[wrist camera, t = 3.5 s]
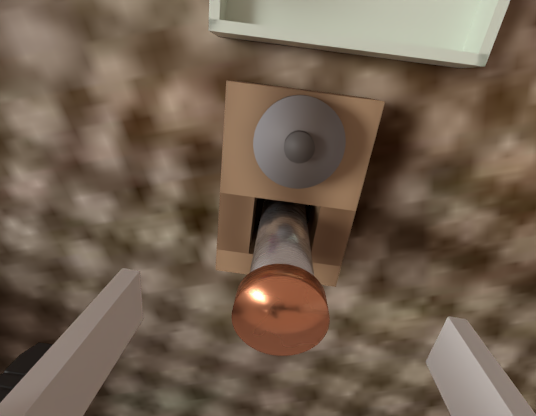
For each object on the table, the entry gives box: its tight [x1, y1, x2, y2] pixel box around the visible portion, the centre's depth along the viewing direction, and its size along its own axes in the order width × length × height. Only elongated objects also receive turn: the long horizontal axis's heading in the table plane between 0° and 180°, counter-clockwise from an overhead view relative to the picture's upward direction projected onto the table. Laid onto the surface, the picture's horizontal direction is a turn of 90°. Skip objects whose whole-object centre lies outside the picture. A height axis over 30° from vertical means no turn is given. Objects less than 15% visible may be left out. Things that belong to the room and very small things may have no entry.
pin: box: [232, 199, 329, 356], centre depth 18 cm, size 4×4×12 cm
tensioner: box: [216, 81, 385, 287], centre depth 20 cm, size 9×13×7 cm
